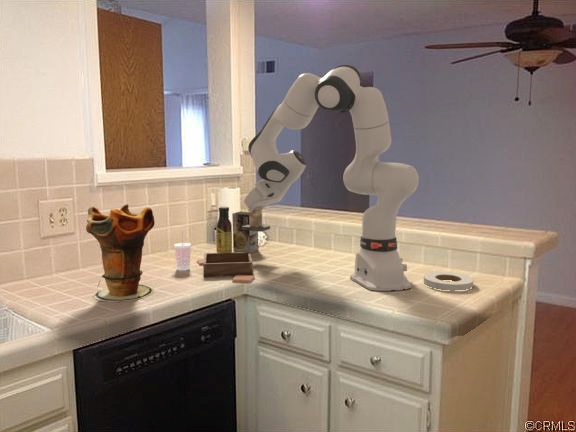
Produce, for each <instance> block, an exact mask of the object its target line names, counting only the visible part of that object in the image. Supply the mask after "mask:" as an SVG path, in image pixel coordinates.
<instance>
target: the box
mask: <svg viewBox="0 0 576 432" xmlns="http://www.w3.org/2000/svg"><path fill="white" fill-rule="evenodd" d="M203 259H204V262H203V265H202V267H203V269H202V270H203V277H204V278H210V277H232V276H233V277H235V275H253V273H254V271H253V270H254V269H253V268H254V266H253V260H252V255H251V253H250V252H241V251H235V252H234V251H232V253H217V252H205V253H204V257H203Z"/></svg>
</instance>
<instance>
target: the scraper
mask: <svg viewBox="0 0 576 432" xmlns="http://www.w3.org/2000/svg"><path fill="white" fill-rule="evenodd" d="M248 212H249V211H248ZM249 215H250V224H249V225H245V226H242V230H251V231H258V233H259V232H265V231H268V230H271V225H263V209H262V206H259V207H256V208H255V211H254V212H252V213H250V212H249Z"/></svg>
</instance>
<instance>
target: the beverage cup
mask: <svg viewBox="0 0 576 432" xmlns="http://www.w3.org/2000/svg"><path fill="white" fill-rule="evenodd" d="M191 247H192V244H191V243H190V242H184V231H183V230H181V242H179V243H174V244H173V248H174V252H175V263H176V264H175V265H176V270H178V271H188V270H190V269H191Z"/></svg>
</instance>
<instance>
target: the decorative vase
mask: <svg viewBox="0 0 576 432" xmlns="http://www.w3.org/2000/svg"><path fill="white" fill-rule="evenodd" d="M153 213H154V212H153V210H152V208H150V207H148V206H145V207H144V208H143V209H142V210H141V212H140V213H139V212H138V213H136V212H135V213H133V212H131V211H130V210H129V204H128V203H127V204H126V203H125V204H124V205H123V206H121V208H120V209H117V208H111V209H110V212H109V214H103V213H101V211H100V210H99V209H98V208H97V207H95V206H90V207H89V208H88V209H87V214H88V218H87V219H86V221H87V224H86V227H85V230H86V232H87V233H88V234H91V235H92V236H93V237H94V238H95V240H96V241H97V243H99V247H100V250H101V260H102V261H101V262H102V269H103V272H104V273H103V274H102V275H101V278H104V280H105V284H106V287H103V288H100V289H98V290H96V291H95V292H94V293H93V298H94V300H98V301H99V302H108V303H110V302H111V303H117V302H130V301H134V300H139V299H146V298H147V297H148V296H151V295H152V294H154V292H155V288H153V287H149V286H147V285H144V284H140V281H141V279H142V278H141V276H142V275H143V273H144V272H143V270H141V266H142V265H141V264H142V259H143V257H142V256H143V248H144V245H145V238H146V237H147V235H148V233H149V232H150V231H151V230H152V229H153V228H154V227H155V215H154V214H153ZM100 282H101V281H99V282H98V286H97V287H99V285H100Z"/></svg>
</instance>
